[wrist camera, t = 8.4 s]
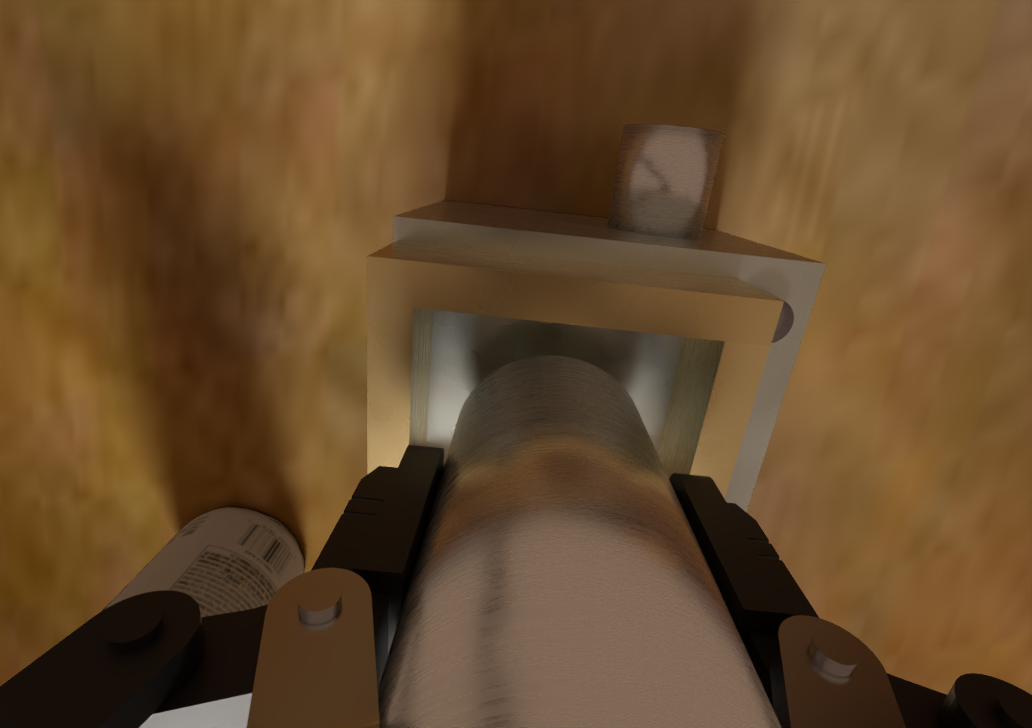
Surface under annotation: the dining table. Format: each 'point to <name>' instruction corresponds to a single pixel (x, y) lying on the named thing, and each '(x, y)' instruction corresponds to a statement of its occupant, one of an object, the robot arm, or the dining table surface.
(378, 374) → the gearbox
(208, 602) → the spray can
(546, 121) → the dining table surface
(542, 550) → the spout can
